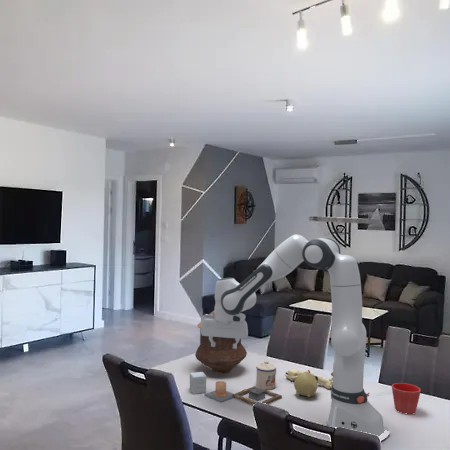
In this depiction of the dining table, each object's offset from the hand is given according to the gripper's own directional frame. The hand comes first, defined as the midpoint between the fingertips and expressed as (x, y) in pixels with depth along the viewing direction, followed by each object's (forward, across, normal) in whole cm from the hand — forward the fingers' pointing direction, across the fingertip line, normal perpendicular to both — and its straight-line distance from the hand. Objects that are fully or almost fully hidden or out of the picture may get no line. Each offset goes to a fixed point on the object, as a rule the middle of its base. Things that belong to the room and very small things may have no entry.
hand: (223, 347), depth 201 cm
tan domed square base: (+20, -1, 0) cm, 20 cm away
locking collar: (+21, +14, +2) cm, 26 cm away
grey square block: (+21, +14, +2) cm, 26 cm away
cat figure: (+22, +36, +27) cm, 49 cm away
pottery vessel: (+21, -9, +32) cm, 39 cm away
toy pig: (+21, +35, +11) cm, 42 cm away
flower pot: (+22, +75, +7) cm, 78 cm away
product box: (+21, -12, +3) cm, 24 cm away
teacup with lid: (+21, +17, +18) cm, 33 cm away
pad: (+21, -1, 0) cm, 21 cm away
